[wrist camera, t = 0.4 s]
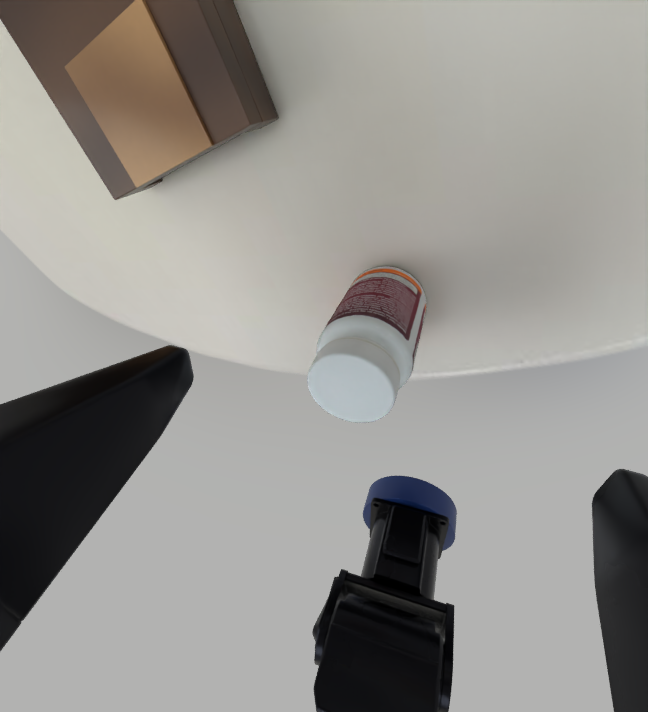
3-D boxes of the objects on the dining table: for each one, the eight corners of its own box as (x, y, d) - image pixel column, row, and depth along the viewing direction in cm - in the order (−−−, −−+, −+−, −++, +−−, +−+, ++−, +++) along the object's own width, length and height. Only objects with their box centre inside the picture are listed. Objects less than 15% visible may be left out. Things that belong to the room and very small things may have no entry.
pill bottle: (336, 279, 23) (279, 359, 17) (410, 252, 20) (376, 334, 14) (367, 342, 25) (327, 434, 19) (438, 324, 22) (419, 424, 16)
